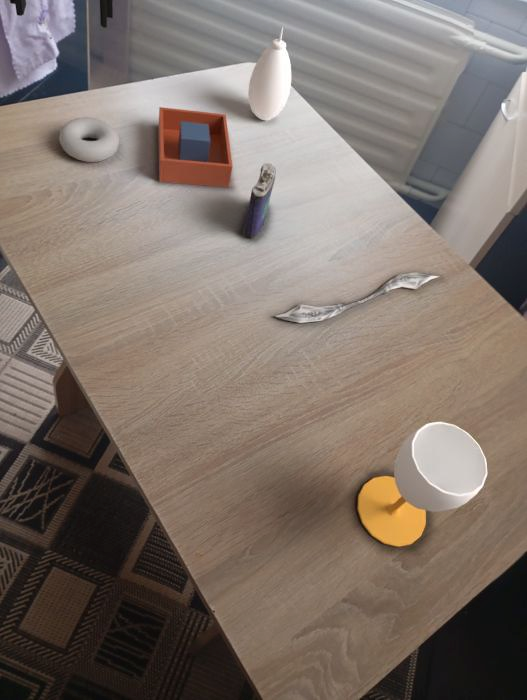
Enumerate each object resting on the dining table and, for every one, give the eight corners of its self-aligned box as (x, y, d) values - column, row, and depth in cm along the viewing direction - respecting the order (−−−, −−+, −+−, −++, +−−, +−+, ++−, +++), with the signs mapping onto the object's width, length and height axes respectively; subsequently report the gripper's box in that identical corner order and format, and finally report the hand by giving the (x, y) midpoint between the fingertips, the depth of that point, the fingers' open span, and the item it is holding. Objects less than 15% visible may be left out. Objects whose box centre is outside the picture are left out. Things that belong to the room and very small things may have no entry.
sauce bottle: (289, 121, 116) (312, 32, 102) (264, 133, 112) (285, 42, 98) (261, 102, 118) (280, 12, 104) (236, 113, 114) (252, 21, 100)
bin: (159, 181, 98) (160, 160, 94) (158, 128, 106) (159, 106, 103) (228, 187, 101) (232, 166, 97) (222, 135, 109) (225, 114, 105)
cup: (380, 558, 67) (440, 513, 54) (344, 490, 71) (391, 433, 58) (439, 530, 71) (508, 481, 58) (401, 466, 75) (457, 408, 62)
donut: (124, 165, 99) (114, 129, 103) (123, 149, 96) (113, 112, 101) (64, 167, 95) (56, 130, 100) (62, 150, 93) (54, 113, 97)
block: (179, 162, 101) (181, 138, 97) (178, 145, 104) (180, 121, 100) (207, 165, 102) (210, 141, 98) (205, 147, 105) (208, 124, 101)
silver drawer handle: (272, 315, 85) (289, 339, 83) (273, 312, 85) (290, 337, 83) (423, 260, 99) (441, 280, 97) (425, 258, 99) (443, 277, 97)
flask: (253, 202, 99) (266, 151, 91) (269, 207, 100) (283, 156, 91) (240, 236, 94) (251, 185, 85) (257, 242, 94) (270, 191, 85)
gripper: (-56, -173, 52) (-18, 21, 65) (137, -133, 56) (135, 42, 69) (-41, -196, 56) (-8, -10, 69) (138, -158, 60) (136, 12, 73)
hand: (63, 16), depth 69 cm, fingers open, 9 cm apart
